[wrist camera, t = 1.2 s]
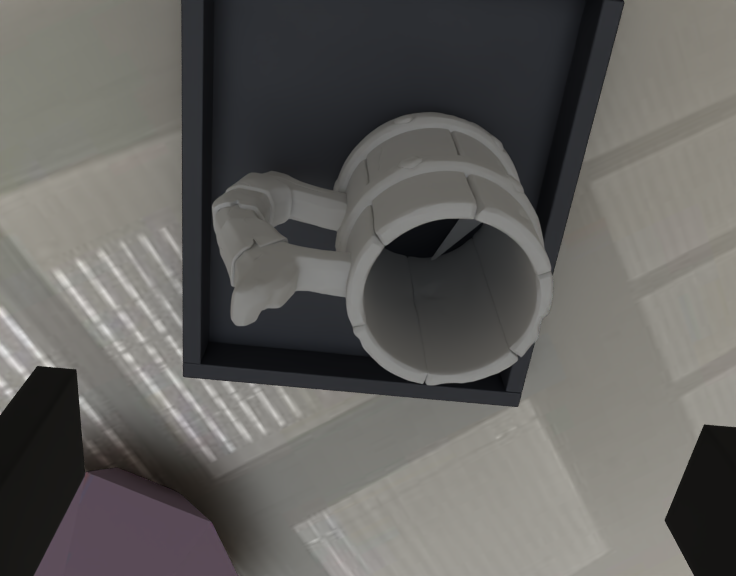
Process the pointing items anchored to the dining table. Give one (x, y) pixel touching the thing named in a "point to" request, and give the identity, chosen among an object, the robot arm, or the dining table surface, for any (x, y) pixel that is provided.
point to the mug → (395, 271)
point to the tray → (348, 128)
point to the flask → (133, 532)
